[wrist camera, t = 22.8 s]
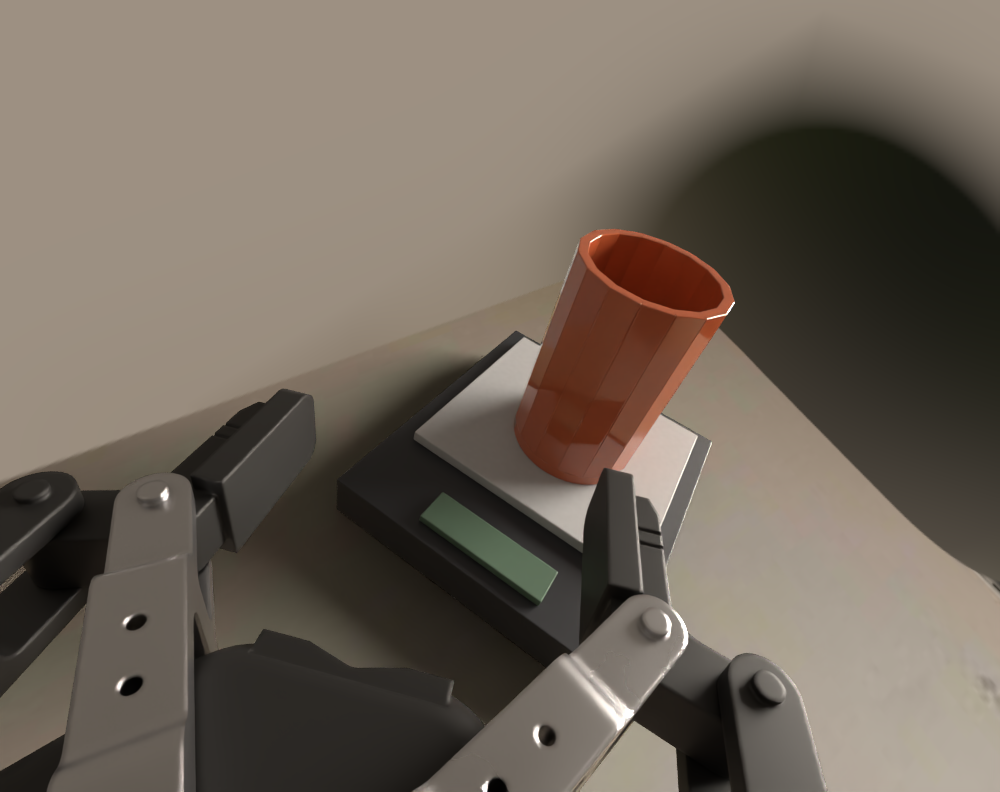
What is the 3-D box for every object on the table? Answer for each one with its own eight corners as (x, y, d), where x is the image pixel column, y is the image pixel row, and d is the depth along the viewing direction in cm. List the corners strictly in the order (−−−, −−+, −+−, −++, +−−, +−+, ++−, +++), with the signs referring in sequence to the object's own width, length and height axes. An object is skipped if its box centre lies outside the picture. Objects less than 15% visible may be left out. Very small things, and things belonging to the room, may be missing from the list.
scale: (336, 509, 23) (336, 471, 21) (507, 357, 34) (518, 322, 32) (597, 706, 19) (628, 684, 17) (692, 466, 31) (717, 435, 29)
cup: (502, 461, 23) (571, 281, 17) (524, 380, 28) (585, 214, 21) (627, 501, 23) (746, 339, 17) (628, 414, 28) (722, 258, 21)
